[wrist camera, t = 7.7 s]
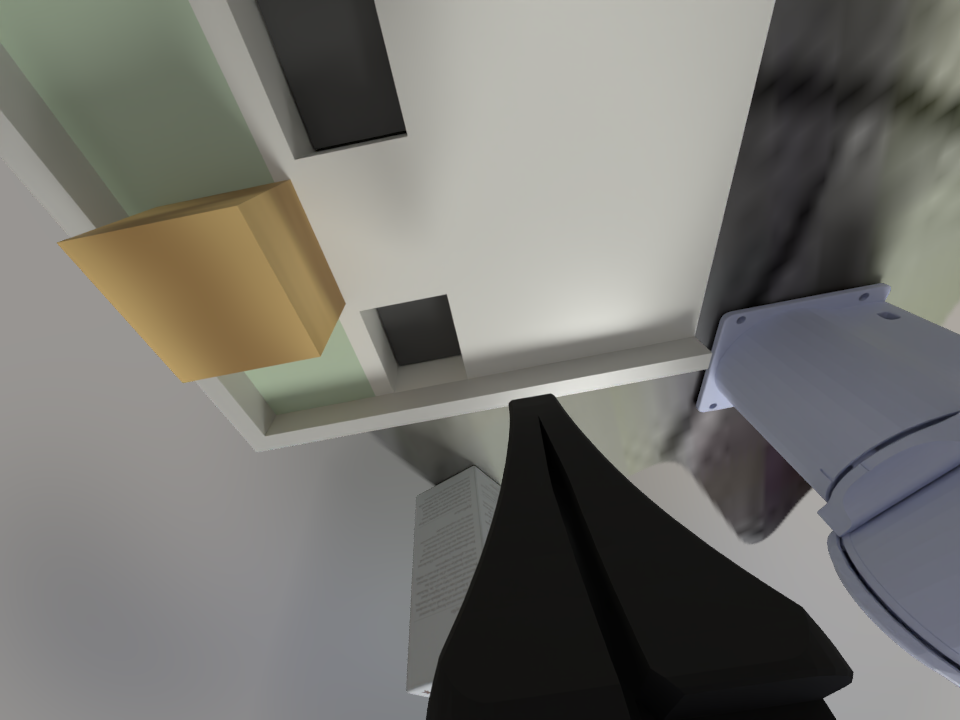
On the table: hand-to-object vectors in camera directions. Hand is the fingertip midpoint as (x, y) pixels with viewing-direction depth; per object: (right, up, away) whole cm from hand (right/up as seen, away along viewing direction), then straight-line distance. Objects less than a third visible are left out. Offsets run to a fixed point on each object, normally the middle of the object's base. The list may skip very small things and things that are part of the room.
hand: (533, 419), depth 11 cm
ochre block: (-10, +6, +3) cm, 12 cm away
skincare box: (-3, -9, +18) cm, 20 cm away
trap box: (-3, +9, +5) cm, 10 cm away
